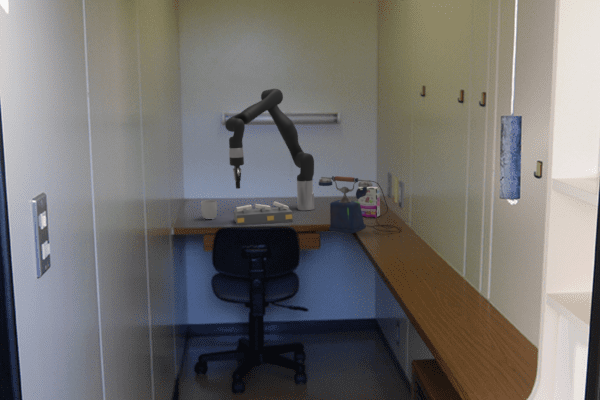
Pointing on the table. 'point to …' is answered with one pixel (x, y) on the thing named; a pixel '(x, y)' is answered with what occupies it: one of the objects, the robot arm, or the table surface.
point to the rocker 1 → (243, 208)
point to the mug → (209, 208)
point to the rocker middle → (262, 206)
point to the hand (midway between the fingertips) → (238, 188)
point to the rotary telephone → (349, 207)
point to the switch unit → (263, 216)
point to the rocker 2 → (280, 205)
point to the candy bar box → (370, 202)
